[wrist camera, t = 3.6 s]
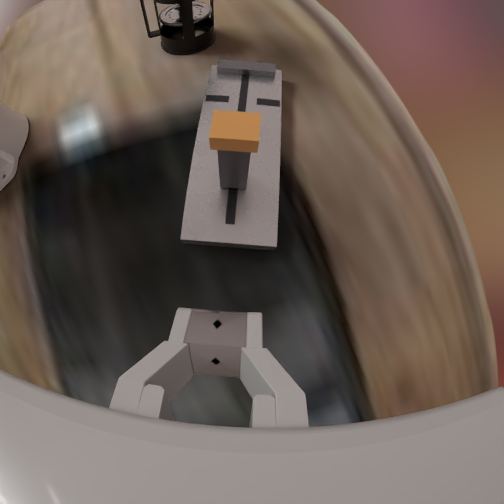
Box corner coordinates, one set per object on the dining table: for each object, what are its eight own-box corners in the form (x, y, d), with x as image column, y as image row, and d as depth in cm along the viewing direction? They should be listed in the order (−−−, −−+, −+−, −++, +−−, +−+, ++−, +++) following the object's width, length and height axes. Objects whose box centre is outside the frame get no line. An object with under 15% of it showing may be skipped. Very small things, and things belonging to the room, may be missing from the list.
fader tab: (250, 192, 31) (259, 141, 21) (215, 190, 30) (208, 137, 20) (252, 169, 31) (261, 113, 21) (218, 167, 31) (213, 110, 21)
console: (273, 250, 32) (278, 244, 29) (183, 243, 31) (178, 236, 28) (279, 79, 37) (283, 64, 34) (212, 74, 37) (211, 59, 33)
